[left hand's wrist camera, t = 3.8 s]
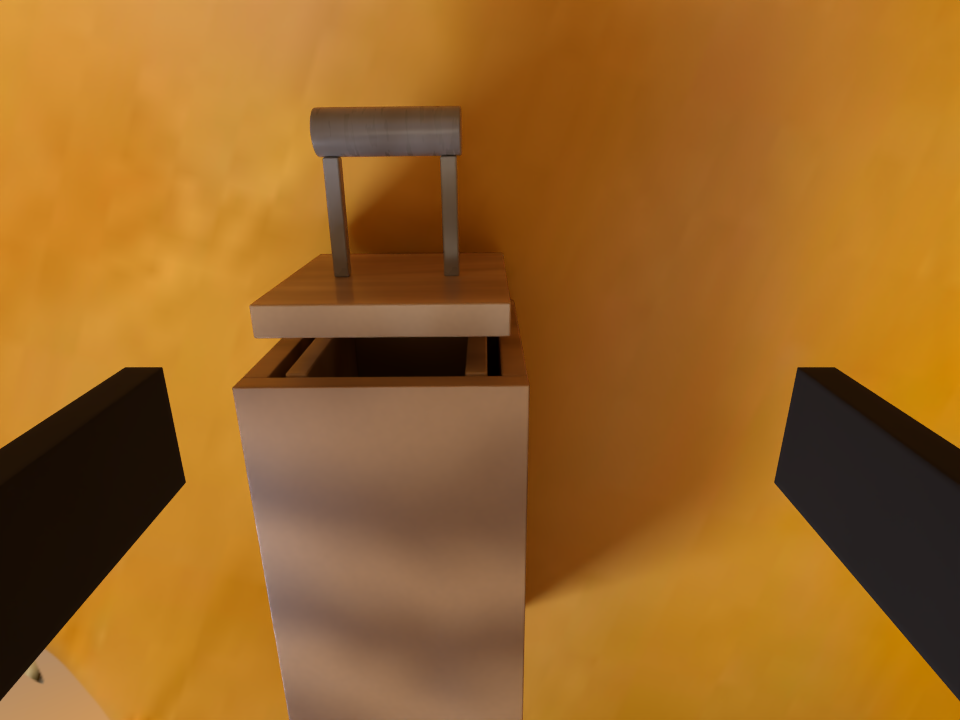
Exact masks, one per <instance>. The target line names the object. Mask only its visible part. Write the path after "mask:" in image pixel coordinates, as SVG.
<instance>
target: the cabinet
mask: <svg viewBox="0 0 960 720" xmlns="http://www.w3.org/2000/svg"><path fill="white" fill-rule="evenodd" d="M510 301H511V335H510V336H487V371H488V376H449V377H312V378H286V373H287V372H288V371H289V370H290V368H291V367H292V366H293V365H294V364H295V362H296V361H297V360H298V359H299V358H300V356H301V355H302V354H303V353H304V352H305V350H306V349H307V348H308V347H309V346H310V344H311V343H312V342H313V341H314V340H315V338H282V339H281V340H280V341H279V342H278V343H277V344H276V345H275V346H274V347H273V348H272V349H271V350H270V351H269V352H268V353H267V354H266V355H265V356H264V357H263V358H262V359H261V360H260V361H259V362H258V363H257V364H256V365H255V366H254V367H253V368H252V369H251V370H250V371H249V372H248V373H247V374H246V375H245V376H244V377H243V378H242V379H241V380H240V381H239V382H238V383H237V384H236V385H235V386H234V387H233V388H232V389H233V395H234V400H235V406H236V412H237V418H238V424H239V430H240V435H241V441H242V447H243V453H244V459H245V464H246V470H247V476H248V482H249V488H250V493H251V499H252V505H253V511H254V517H255V523H256V528H257V534H258V540H259V546H260V552H261V557H262V563H263V569H264V575H265V581H266V586H267V592H268V598H269V604H270V610H271V615H272V621H273V627H274V633H275V639H276V645H277V650H278V656H279V662H280V668H281V674H282V679H283V685H284V691H285V697H286V703H287V708H288V714H289V720H523V678H524V630H525V581H526V532H527V483H528V434H529V381H528V376H527V371H526V365H525V360H524V354H523V349H522V343H521V337H520V332H519V326H518V321H517V315H516V310H515V304H514V301H513V300H510Z"/></svg>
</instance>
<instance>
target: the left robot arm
mask: <svg viewBox="0 0 960 720" xmlns="http://www.w3.org/2000/svg"><path fill="white" fill-rule="evenodd" d="M185 483H186V481H185V476H184V471H183V467H182V462H181V457H180V452H179V447H178V442H177V437H176V432H175V427H174V422H173V417H172V413H171V408H170V403H169V398H168V393H167V388H166V383H165V378H164V373H163V368H162V367H125V368H124V369H122V370H121V371H119V372H117V373H116V374H114V375H113V376H111V377H110V378H108V379H107V380H105V381H104V382H102V383H101V384H99V385H98V386H96V387H94V388H93V389H91V390H90V391H88V392H87V393H85V394H84V395H82V396H81V397H79V398H78V399H76V400H75V401H73V402H71V403H70V404H68V405H67V406H65V407H64V408H62V409H61V410H59V411H58V412H56V413H55V414H53V415H52V416H50V417H48V418H47V419H45V420H44V421H42V422H41V423H39V424H38V425H36V426H35V427H33V428H32V429H30V430H29V431H27V432H25V433H24V434H22V435H21V436H19V437H18V438H16V439H15V440H13V441H12V442H10V443H9V444H7V445H6V446H4V447H3V448H1V449H0V701H1V699H2V698H3V697H4V696H5V695H6V694H7V692H8V691H9V690H10V689H11V688H12V687H13V685H14V684H15V683H16V682H17V681H18V679H19V678H20V677H21V676H22V675H23V674H24V672H25V671H26V670H27V669H28V668H29V667H30V665H31V664H32V663H33V662H34V661H35V659H36V658H37V657H38V656H39V655H40V654H41V652H42V651H43V650H44V649H45V648H46V647H47V645H48V644H49V643H50V642H51V641H52V639H53V638H54V637H55V636H56V635H57V634H58V632H59V631H60V630H61V629H62V628H63V626H64V625H65V624H66V623H67V622H68V621H69V619H70V618H71V617H72V616H73V615H74V614H75V612H76V611H77V610H78V609H79V608H80V606H81V605H82V604H83V603H84V602H85V601H86V599H87V598H88V597H89V596H90V595H91V594H92V592H93V591H94V590H95V589H96V588H97V586H98V585H99V584H100V583H101V582H102V581H103V579H104V578H105V577H106V576H107V575H108V573H109V572H110V571H111V570H112V569H113V568H114V566H115V565H116V564H117V563H118V562H119V561H120V559H121V558H122V557H123V556H124V555H125V553H126V552H127V551H128V550H129V549H130V548H131V546H132V545H133V544H134V543H135V542H136V541H137V539H138V538H139V537H140V536H141V535H142V533H143V532H144V531H145V530H146V529H147V528H148V526H149V525H150V524H151V523H152V522H153V520H154V519H155V518H156V517H157V516H158V515H159V513H160V512H161V511H162V510H163V509H164V508H165V506H166V505H167V504H168V503H169V502H170V500H171V499H172V498H173V497H174V496H175V495H176V493H177V492H178V491H179V490H180V489H181V488H182V486H183V485H184V484H185ZM774 483H775V484H776V485H777V486H778V488H779V489H780V490H781V491H782V492H783V493H784V495H785V496H786V497H787V498H788V499H789V500H790V502H791V503H792V504H793V505H794V506H795V508H796V509H797V510H798V511H799V512H800V513H801V515H802V516H803V517H804V518H805V519H806V520H807V522H808V523H809V524H810V525H811V526H812V528H813V529H814V530H815V531H816V532H817V533H818V535H819V536H820V537H821V538H822V539H823V541H824V542H825V543H826V544H827V545H828V546H829V548H830V549H831V550H832V551H833V552H834V553H835V555H836V556H837V557H838V558H839V559H840V561H841V562H842V563H843V564H844V565H845V566H846V568H847V569H848V570H849V571H850V572H851V573H852V575H853V576H854V577H855V578H856V579H857V581H858V582H859V583H860V584H861V585H862V586H863V588H864V589H865V590H866V591H867V592H868V594H869V595H870V596H871V597H872V598H873V599H874V601H875V602H876V603H877V604H878V605H879V606H880V608H881V609H882V610H883V611H884V612H885V614H886V615H887V616H888V617H889V618H890V619H891V621H892V622H893V623H894V624H895V625H896V626H897V628H898V629H899V630H900V631H901V632H902V634H903V635H904V636H905V637H906V638H907V639H908V641H909V642H910V643H911V644H912V645H913V647H914V648H915V649H916V650H917V651H918V652H919V654H920V655H921V656H922V657H923V658H924V659H925V661H926V662H927V663H928V664H929V665H930V667H931V668H932V669H933V670H934V671H935V672H936V674H937V675H938V676H939V677H940V678H941V679H942V681H943V682H944V683H945V684H946V685H947V687H948V688H949V689H950V690H951V691H952V692H953V694H954V695H955V696H956V697H957V698H958V700H959V701H960V449H959V448H957V447H956V446H954V445H953V444H951V443H950V442H948V441H947V440H945V439H944V438H942V437H941V436H939V435H938V434H936V433H935V432H933V431H931V430H930V429H928V428H927V427H925V426H924V425H922V424H921V423H919V422H918V421H916V420H915V419H913V418H912V417H910V416H908V415H907V414H905V413H904V412H902V411H901V410H899V409H898V408H896V407H895V406H893V405H892V404H890V403H889V402H887V401H885V400H884V399H882V398H881V397H879V396H878V395H876V394H875V393H873V392H872V391H870V390H869V389H867V388H866V387H864V386H862V385H861V384H859V383H858V382H856V381H855V380H853V379H852V378H850V377H849V376H847V375H846V374H844V373H843V372H841V371H839V370H838V369H836V368H835V367H798V368H797V373H796V378H795V383H794V388H793V393H792V398H791V403H790V408H789V413H788V417H787V422H786V427H785V432H784V437H783V442H782V447H781V452H780V457H779V462H778V467H777V471H776V476H775V481H774Z"/></svg>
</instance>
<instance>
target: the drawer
mask: <svg viewBox="0 0 960 720" xmlns="http://www.w3.org/2000/svg"><path fill="white" fill-rule="evenodd" d="M310 133H311V140H312V144H313V148H314V151H315V153H316V155H317V156H319V157H324V158H323V168H324V178H325V188H326V198H327V208H328V218H329V228H330V238H331V248H332V254H320V255H319V256H317V257H316V258H315V259H313V260H312V261H310V262H309V263H308V264H306V265H305V266H304V267H302V268H301V269H299V270H298V271H297V272H295V273H294V274H292V275H291V276H290V277H288V278H287V279H285V280H284V281H283V282H281V283H280V284H278V285H277V286H276V287H274V288H273V289H272V290H270V291H269V292H267V293H266V294H265V295H263V296H262V297H260V298H259V299H258V300H256V301H255V302H253V303H252V304H251V305H250V313H251V319H252V326H253V332H254V337H255V338H315V340H314V341H313V342H312V343H311V344H310V346H309V347H308V348H307V349H306V350H305V352H304V353H303V354H302V355H301V356H300V358H299V359H298V360H297V361H296V362H295V364H294V365H293V366H292V367H291V368H290V370H289V371H288V372H287V373H286V378H312V377H449V376H488V371H487V336H510V335H511V301H510V295H509V289H508V282H507V276H506V270H505V264H504V257H503V253H459V228H458V184H457V156H460V155H461V154H462V114H461V107H460V106H407V107H323V108H313V109H312V111H311V116H310ZM377 156H441V157H440V166H441V197H442V228H443V253H407V254H350V250H349V239H348V228H347V216H346V205H345V194H344V182H343V171H342V160H341V157H377Z"/></svg>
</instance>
